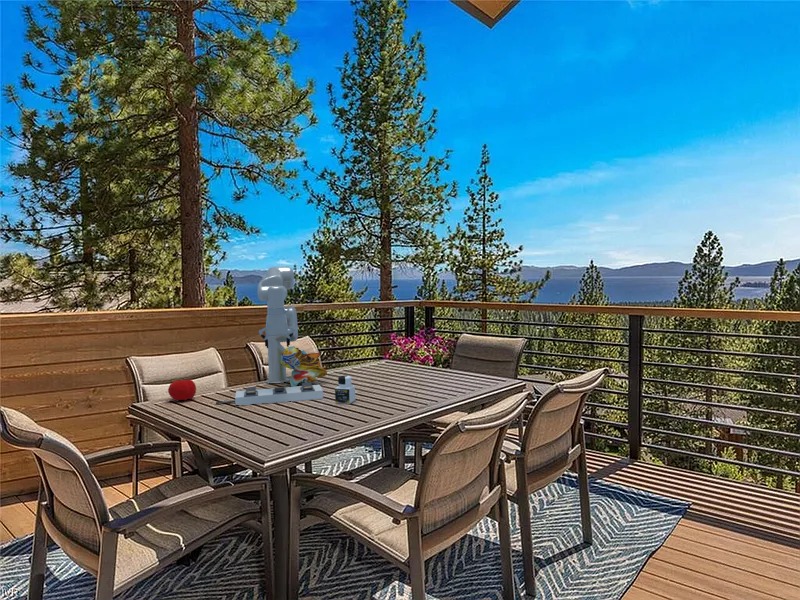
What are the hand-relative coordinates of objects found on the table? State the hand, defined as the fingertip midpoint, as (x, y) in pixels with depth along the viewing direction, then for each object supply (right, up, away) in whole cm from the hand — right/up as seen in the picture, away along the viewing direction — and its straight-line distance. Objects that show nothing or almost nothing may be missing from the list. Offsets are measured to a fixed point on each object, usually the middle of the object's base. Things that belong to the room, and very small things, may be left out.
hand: (277, 347), depth 253 cm
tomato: (-46, -26, +1) cm, 53 cm away
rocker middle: (+2, -19, -5) cm, 20 cm away
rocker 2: (+15, -19, -2) cm, 24 cm away
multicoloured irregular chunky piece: (+7, -23, +30) cm, 38 cm away
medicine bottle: (+34, -25, -11) cm, 44 cm away
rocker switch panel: (-3, -25, -4) cm, 25 cm away
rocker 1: (-10, -20, -9) cm, 24 cm away
